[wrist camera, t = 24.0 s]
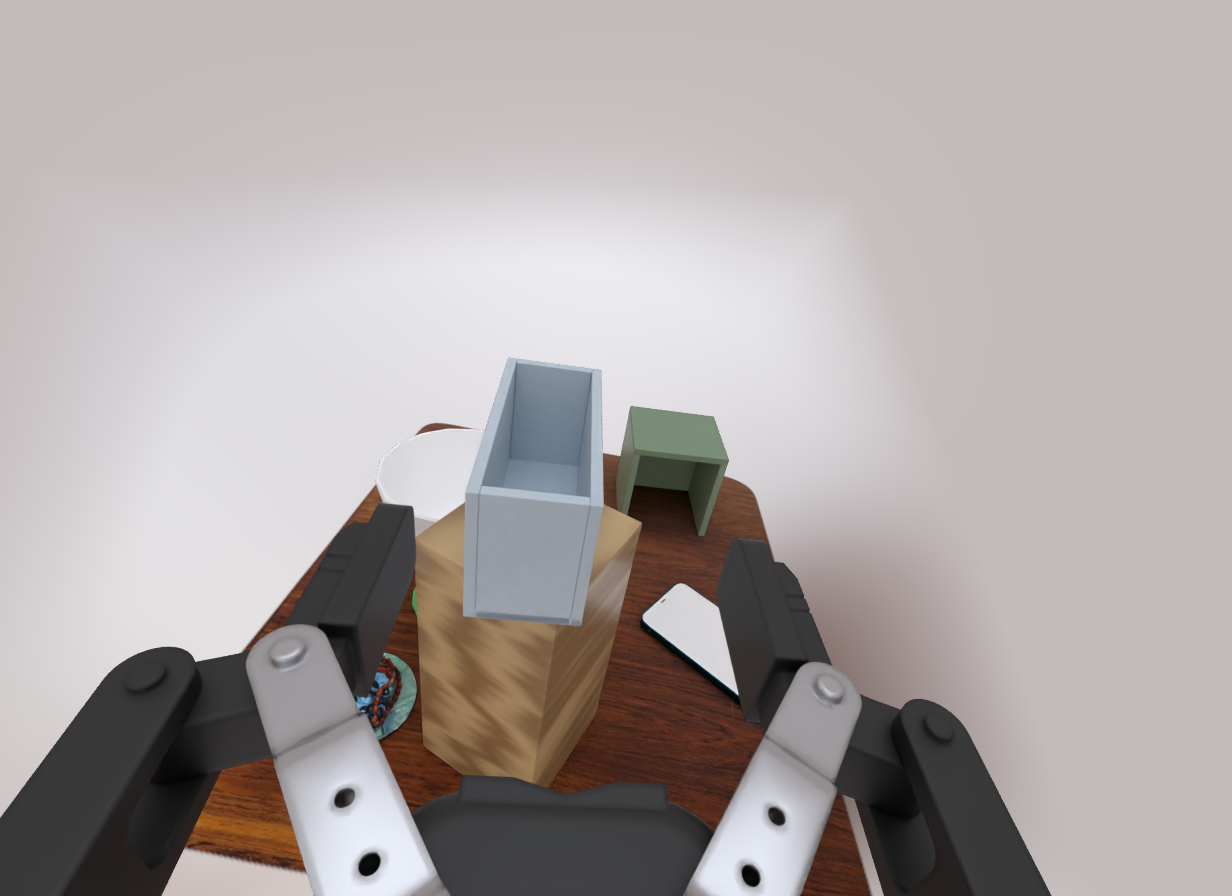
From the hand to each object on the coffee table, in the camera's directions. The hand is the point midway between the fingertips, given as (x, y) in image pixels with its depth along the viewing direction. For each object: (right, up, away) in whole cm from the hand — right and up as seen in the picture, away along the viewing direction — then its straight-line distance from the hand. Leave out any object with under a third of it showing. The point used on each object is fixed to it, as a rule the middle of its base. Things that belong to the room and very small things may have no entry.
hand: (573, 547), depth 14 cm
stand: (-7, -21, +32) cm, 39 cm away
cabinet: (+7, -5, +60) cm, 61 cm away
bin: (-4, -3, +20) cm, 21 cm away
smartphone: (+12, -18, +42) cm, 47 cm away
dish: (-20, -18, +32) cm, 42 cm away
